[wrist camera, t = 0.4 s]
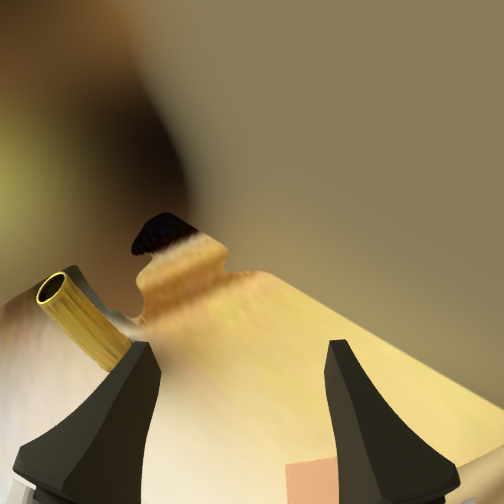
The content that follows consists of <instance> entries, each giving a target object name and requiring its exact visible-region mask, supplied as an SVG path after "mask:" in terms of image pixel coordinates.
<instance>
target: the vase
mask: <svg viewBox="0 0 504 504" xmlns="http://www.w3.org/2000/svg"><path fill="white" fill-rule="evenodd" d="M36 299H37V303H38V304H39V305H40V307H41V308H42V309H43V310H44V311H45V312H46V313H47V314H48V315H49V316H50V317H51V318H52V319H53V320H54V321H55V322H56V323H57V324H58V326H59V327H60V328H61V329H62V330H63V331H64V332H65V333H66V334H67V335H68V336H69V337H70V338H71V339H72V340H73V341H74V342H75V343H76V344H77V345H78V346H79V347H80V348H81V349H82V350H83V351H84V352H85V353H86V354H87V355H89V356H90V357H91V358H92V359H93V360H95V361H96V362H97V363H98V365H99V366H100V367H101V368H102V369H104V370H107V371H112V370H113V368H114V367H115V366H116V365H117V363H118V362H119V361H120V360H121V358H122V357H123V356H124V355H125V353H126V352H127V351H128V350H129V348H130V347H131V342H130V340H129V339H128V338H127V337H126V336H125V335H123V334H122V333H120V332H119V331H118V330H117V329H116V328H115V327H114V326H113V325H112V324H111V323H110V322H109V321H108V320H107V319H106V318H105V317H104V316H103V315H102V314H101V313H100V312H99V310H98V309H97V308H96V307H95V306H94V305H93V304H92V303H91V302H90V301H89V300H88V299H87V298H86V296H85V295H84V294H83V293H82V292H81V291H80V290H79V288H78V287H77V286H76V285H75V284H74V282H73V281H72V280H71V279H70V278H69V277H68V275H67V274H66V273H64V272H58V273H55V274H53V275H52V276H51V277H49V278H48V279H47V280H46V281H45V282H44V284H43V285H42V286H41V288H40V290H39V292H38V294H37V298H36Z"/></svg>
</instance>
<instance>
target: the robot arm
mask: <svg viewBox="0 0 504 504" xmlns="http://www.w3.org/2000/svg"><path fill="white" fill-rule="evenodd" d="M324 377H325V388H326V396H327V401H328V406H329V411H330V416H331V421H332V426H333V431H334V436H335V441H336V448H337V462H338V481H339V504H445V503H446V499H445V495H447V494H449V493H450V492H452V491H454V490H455V489H457V488H458V487H459V486H460V485H461V481H460V477H459V474H458V471H457V469H456V466H455V464H454V463H452V462H451V461H449V460H448V459H446V458H445V457H444V456H442V455H441V454H439V453H438V452H437V451H435V450H434V449H433V448H432V447H430V446H429V445H428V444H427V443H425V442H424V441H423V440H422V439H421V438H420V437H419V436H418V435H417V434H416V433H414V432H413V431H412V430H411V429H410V428H409V427H408V426H407V425H406V424H405V423H404V422H403V421H402V420H401V419H400V417H399V416H398V415H397V414H396V413H395V412H394V411H393V410H392V408H391V407H390V406H389V405H388V404H387V402H386V401H385V400H384V398H383V397H382V396H381V394H380V393H379V392H378V390H377V389H376V388H375V386H374V385H373V383H372V382H371V380H370V379H369V377H368V376H367V375H366V373H365V371H364V370H363V368H362V367H361V365H360V363H359V362H358V360H357V358H356V357H355V355H354V353H353V352H352V350H351V348H350V346H349V344H348V342H347V341H346V340H345V339H343V340H330V341H329V347H328V353H327V358H326V364H325V369H324ZM160 379H161V370H160V368H159V365H158V363H157V361H156V359H155V356H154V354H153V352H152V349H151V347H150V345H149V342H138V341H135V342H134V343H133V345H132V346H131V347H130V348H129V350H128V351H127V352H126V353H125V355H124V356H123V357H122V358H121V360H120V361H119V362H118V363H117V365H116V366H115V367H114V368H113V370H112V371H111V372H110V373H109V374H108V376H107V377H106V378H105V379H104V381H103V382H102V383H101V384H100V385H99V386H98V387H97V388H96V390H95V391H94V392H93V393H92V394H91V395H90V396H89V397H88V398H87V399H86V400H85V401H84V402H83V403H82V404H81V405H80V406H79V407H78V408H77V409H76V410H75V411H74V412H72V413H71V414H70V415H69V416H68V417H66V418H65V419H64V420H63V421H61V422H60V423H59V424H58V425H56V426H55V427H53V428H52V429H50V430H49V431H48V432H46V433H44V434H43V435H41V436H40V437H38V438H36V439H34V440H33V441H31V442H29V443H27V444H25V445H23V446H21V447H20V449H19V452H18V454H17V457H16V460H15V463H14V465H13V468H12V469H13V471H14V472H15V473H17V474H18V475H20V476H21V477H23V478H24V479H26V480H27V481H29V482H31V483H32V484H34V485H36V490H34V489H32V488H30V487H28V486H26V485H24V484H22V483H20V482H19V481H17V480H15V479H12V481H11V484H10V488H9V491H8V494H7V497H6V501H5V504H141V479H142V466H143V457H144V449H145V443H146V438H147V434H148V430H149V426H150V423H151V419H152V415H153V412H154V408H155V404H156V401H157V397H158V393H159V386H160ZM459 504H476V500H475V497H472V498H470V499H468V500H466V501H463V502H461V503H459Z"/></svg>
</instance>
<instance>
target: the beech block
mask: <svg viewBox="0 0 504 504" xmlns="http://www.w3.org/2000/svg"><path fill="white" fill-rule="evenodd" d="M456 469H457V471H458V474H459V477H460V481H461V485H460V486H459V487H458V488H457V489H455V490H454V491H452V492H450V493H449V494H447V495H445V499H446V503H445V504H459V503H461V502H463V501H466V500H468V499H470V498H472V497H475V500H476V504H504V445H502V446H500V447H498V448H497V449H495V450H493V451H491V452H489V453H487V454H485V455H483V456H481V457H479V458H477V459H475V460H473V461H471V462H469V463H467V464H465V465H463V466H460V467H458V468H456Z"/></svg>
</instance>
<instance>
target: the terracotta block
mask: <svg viewBox="0 0 504 504" xmlns="http://www.w3.org/2000/svg"><path fill="white" fill-rule="evenodd" d="M285 470H286V485H287V500H288V504H339V481H338V462H337V457H332V458H326V459H321V460H315V461H308V462H301V463H294V464H286V465H285Z"/></svg>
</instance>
